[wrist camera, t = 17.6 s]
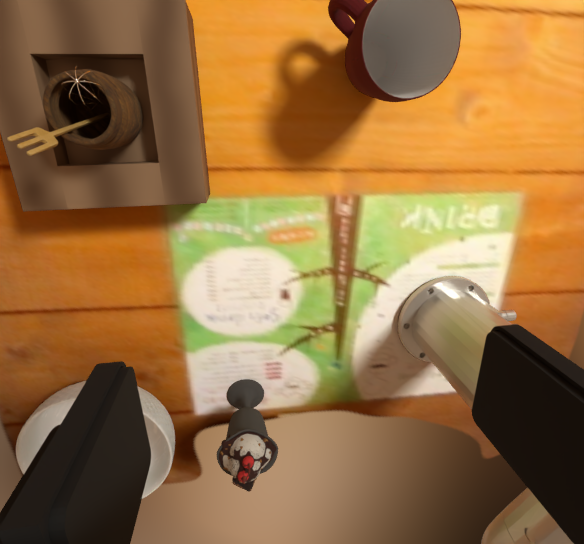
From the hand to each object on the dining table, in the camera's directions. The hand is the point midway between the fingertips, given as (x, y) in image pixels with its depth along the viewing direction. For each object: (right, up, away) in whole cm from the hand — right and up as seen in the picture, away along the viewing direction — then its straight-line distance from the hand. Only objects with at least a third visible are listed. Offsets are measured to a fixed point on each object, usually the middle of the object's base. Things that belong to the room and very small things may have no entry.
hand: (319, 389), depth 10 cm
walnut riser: (-18, +18, +26) cm, 37 cm away
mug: (+6, +25, +28) cm, 38 cm away
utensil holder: (-17, +17, +24) cm, 34 cm away
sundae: (-7, -13, +40) cm, 43 cm away
